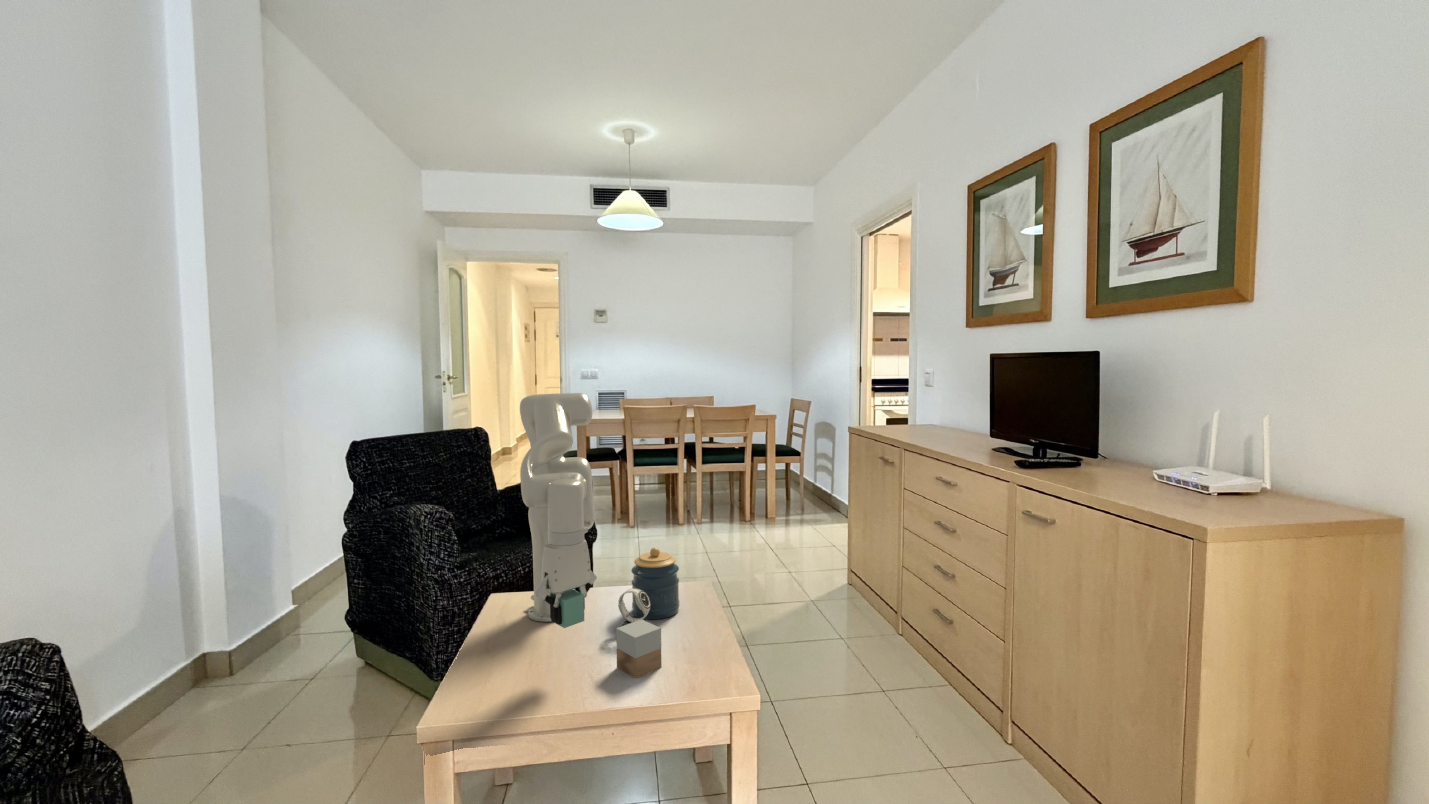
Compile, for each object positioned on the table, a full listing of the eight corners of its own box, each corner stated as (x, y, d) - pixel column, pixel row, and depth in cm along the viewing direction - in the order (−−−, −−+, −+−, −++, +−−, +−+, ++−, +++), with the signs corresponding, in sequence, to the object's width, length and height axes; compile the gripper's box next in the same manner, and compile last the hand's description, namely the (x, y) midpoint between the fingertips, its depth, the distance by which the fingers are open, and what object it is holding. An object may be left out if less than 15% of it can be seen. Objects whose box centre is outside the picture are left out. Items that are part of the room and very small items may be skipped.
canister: (666, 599, 178) (665, 539, 177) (687, 614, 166) (686, 549, 166) (624, 608, 171) (623, 545, 170) (643, 624, 160) (642, 557, 159)
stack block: (551, 621, 134) (551, 594, 133) (571, 614, 138) (570, 588, 137) (564, 628, 130) (563, 600, 130) (584, 620, 134) (583, 594, 134)
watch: (645, 639, 151) (645, 595, 150) (615, 636, 153) (614, 592, 152) (653, 630, 156) (653, 587, 156) (624, 627, 158) (623, 585, 158)
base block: (616, 668, 136) (616, 648, 136) (641, 657, 141) (641, 638, 141) (636, 679, 131) (636, 658, 131) (661, 667, 136) (661, 647, 136)
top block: (616, 648, 136) (616, 628, 136) (642, 638, 141) (641, 619, 141) (635, 658, 131) (635, 637, 131) (661, 648, 136) (660, 628, 136)
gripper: (589, 525, 141) (590, 602, 143) (521, 541, 129) (523, 625, 130) (608, 532, 136) (610, 611, 138) (540, 549, 124) (542, 636, 125)
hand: (567, 617), depth 134 cm, fingers closed on stack block, 5 cm apart
